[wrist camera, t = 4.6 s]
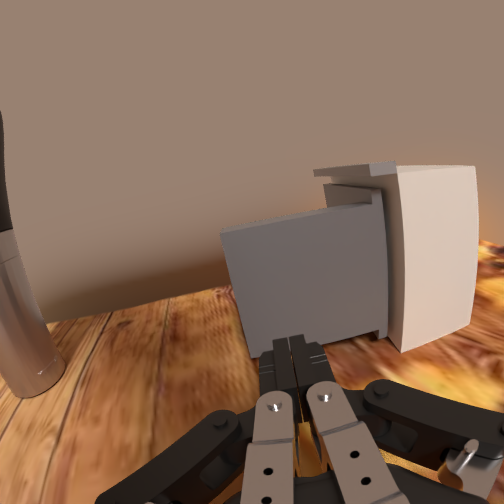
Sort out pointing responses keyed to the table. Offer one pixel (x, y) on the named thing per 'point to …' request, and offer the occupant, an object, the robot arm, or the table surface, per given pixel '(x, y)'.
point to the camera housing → (424, 244)
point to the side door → (312, 271)
